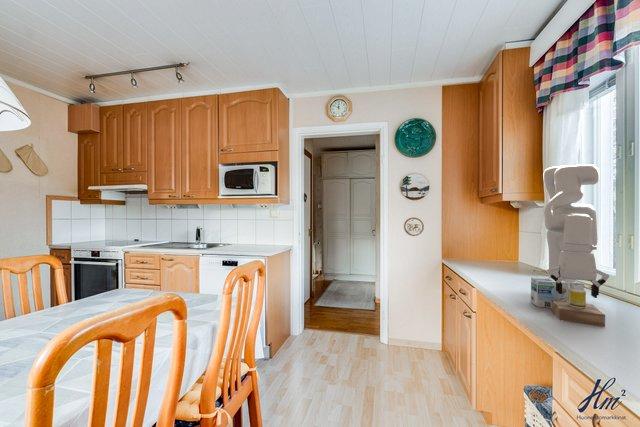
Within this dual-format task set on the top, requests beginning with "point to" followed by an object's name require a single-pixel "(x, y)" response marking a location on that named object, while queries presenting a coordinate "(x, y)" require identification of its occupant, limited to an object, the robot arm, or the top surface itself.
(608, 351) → the top surface
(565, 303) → the walnut stand
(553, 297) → the light bulb box
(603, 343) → the top surface
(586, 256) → the robot arm
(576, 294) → the supplement bottle
